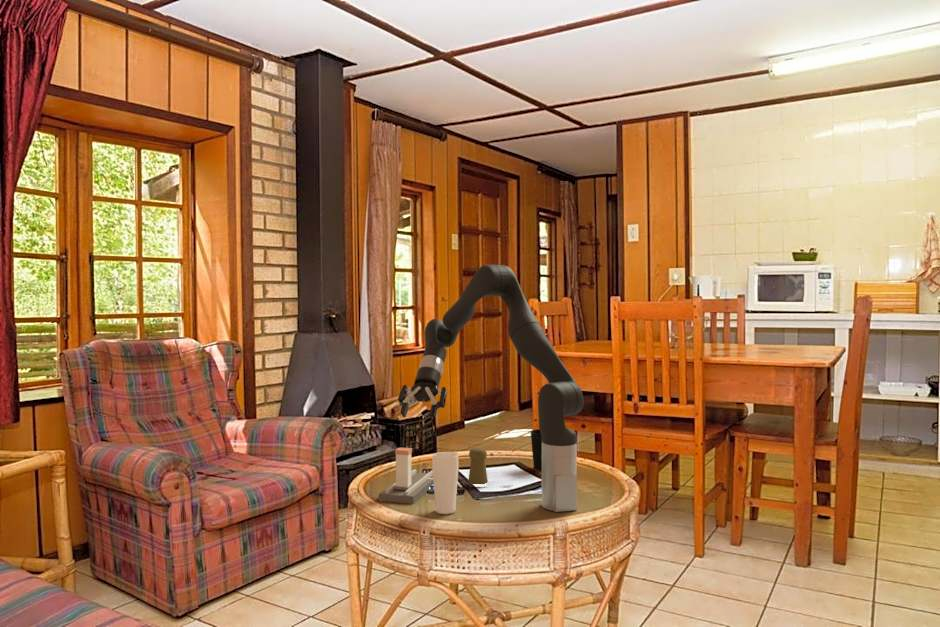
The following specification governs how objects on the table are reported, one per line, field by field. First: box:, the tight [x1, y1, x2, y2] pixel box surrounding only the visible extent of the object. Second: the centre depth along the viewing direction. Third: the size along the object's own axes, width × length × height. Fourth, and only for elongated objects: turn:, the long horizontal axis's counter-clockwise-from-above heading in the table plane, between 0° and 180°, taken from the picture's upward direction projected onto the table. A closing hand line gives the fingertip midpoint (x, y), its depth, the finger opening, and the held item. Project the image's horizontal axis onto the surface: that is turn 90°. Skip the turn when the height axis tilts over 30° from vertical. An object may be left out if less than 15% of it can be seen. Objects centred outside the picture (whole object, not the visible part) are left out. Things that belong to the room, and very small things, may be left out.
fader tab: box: [394, 447, 413, 490], centre depth 198 cm, size 4×4×11 cm
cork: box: [467, 447, 489, 484], centre depth 209 cm, size 6×6×11 cm
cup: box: [530, 428, 542, 472], centre depth 228 cm, size 8×8×12 cm
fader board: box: [378, 469, 433, 505], centre depth 204 cm, size 24×10×3 cm, turn 165°
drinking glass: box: [431, 451, 459, 515], centre depth 184 cm, size 7×7×15 cm
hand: (417, 416), depth 208 cm, fingers open, 8 cm apart
